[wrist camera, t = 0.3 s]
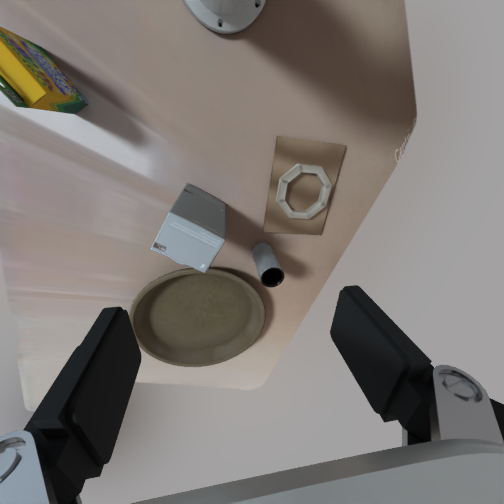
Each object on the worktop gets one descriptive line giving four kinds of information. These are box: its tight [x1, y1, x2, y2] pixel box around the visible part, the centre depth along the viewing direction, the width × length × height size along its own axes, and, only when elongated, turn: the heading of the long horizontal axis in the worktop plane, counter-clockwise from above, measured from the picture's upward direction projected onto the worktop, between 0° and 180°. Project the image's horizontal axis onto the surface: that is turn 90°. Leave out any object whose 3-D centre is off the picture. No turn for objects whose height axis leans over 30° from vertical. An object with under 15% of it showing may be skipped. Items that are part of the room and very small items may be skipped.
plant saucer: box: [129, 268, 265, 367], centre depth 54 cm, size 31×31×5 cm
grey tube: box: [252, 242, 284, 287], centre depth 45 cm, size 4×4×10 cm
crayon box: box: [0, 27, 88, 114], centre depth 26 cm, size 7×3×12 cm, turn 30°
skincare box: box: [151, 183, 226, 273], centre depth 36 cm, size 8×7×16 cm
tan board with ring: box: [263, 136, 346, 235], centre depth 43 cm, size 18×13×2 cm
